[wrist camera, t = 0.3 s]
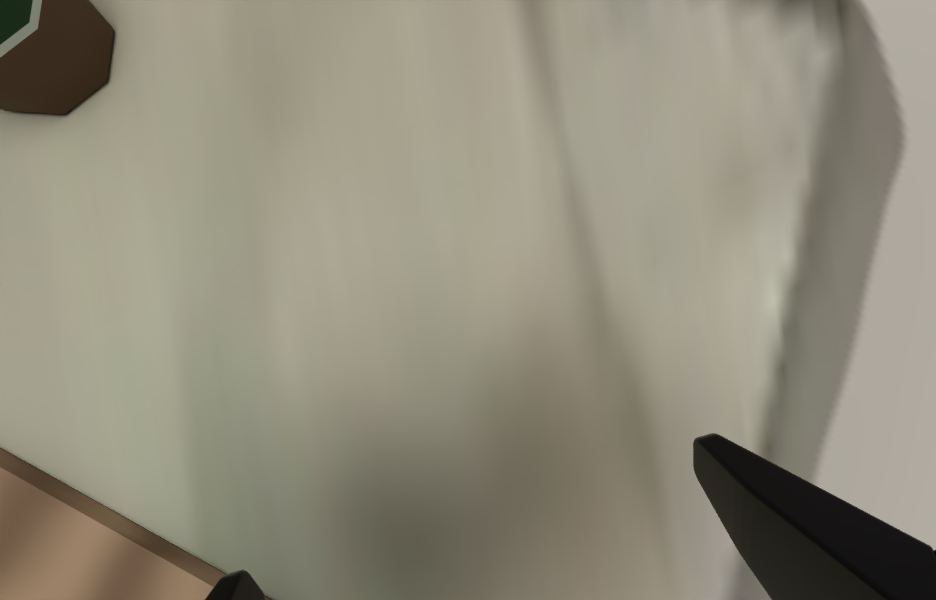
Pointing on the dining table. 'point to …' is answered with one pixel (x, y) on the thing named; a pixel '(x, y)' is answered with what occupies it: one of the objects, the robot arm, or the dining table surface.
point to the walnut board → (84, 547)
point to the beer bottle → (51, 54)
